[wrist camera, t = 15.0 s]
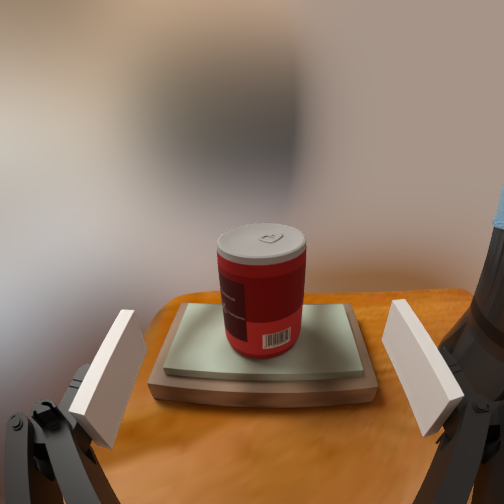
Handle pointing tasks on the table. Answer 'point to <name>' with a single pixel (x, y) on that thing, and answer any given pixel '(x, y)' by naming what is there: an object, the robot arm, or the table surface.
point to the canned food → (262, 287)
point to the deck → (265, 363)
